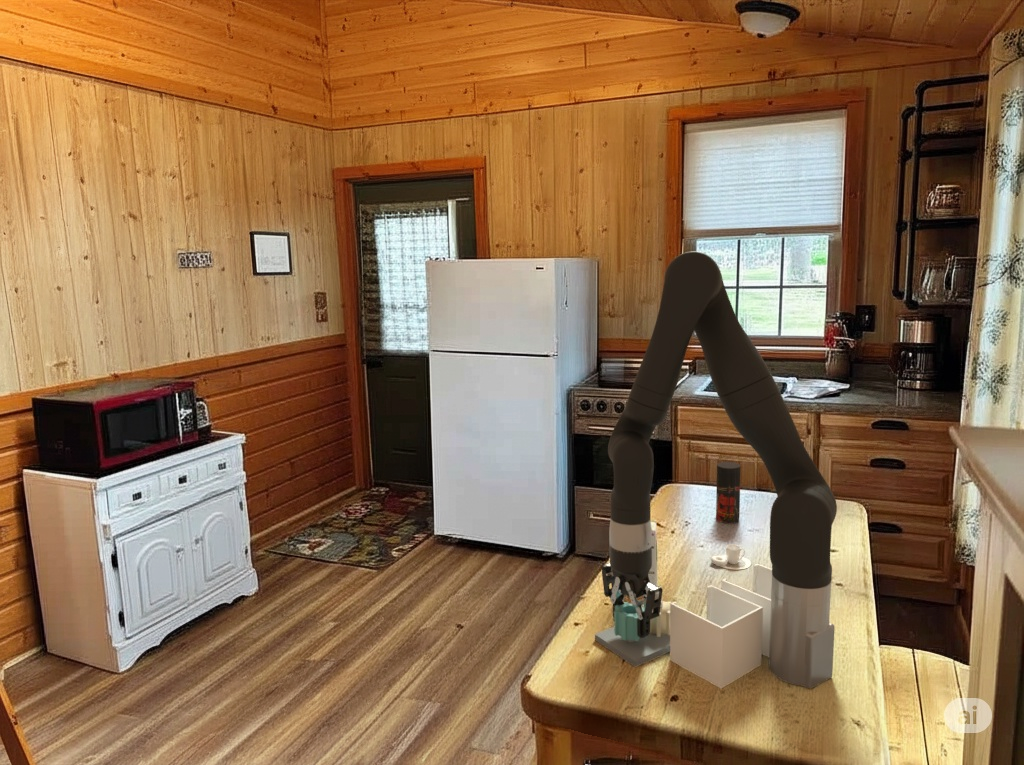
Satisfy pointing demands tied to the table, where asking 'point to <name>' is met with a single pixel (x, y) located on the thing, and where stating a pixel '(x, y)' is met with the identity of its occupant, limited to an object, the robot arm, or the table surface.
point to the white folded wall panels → (724, 631)
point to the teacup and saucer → (731, 558)
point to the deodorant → (728, 492)
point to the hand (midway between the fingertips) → (631, 628)
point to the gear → (626, 621)
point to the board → (641, 640)
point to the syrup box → (653, 556)
